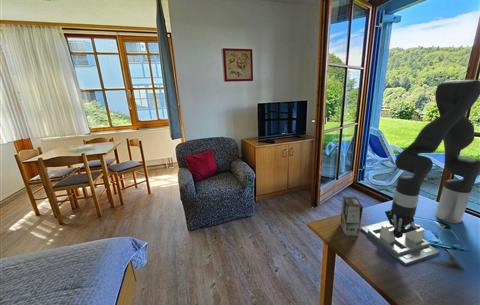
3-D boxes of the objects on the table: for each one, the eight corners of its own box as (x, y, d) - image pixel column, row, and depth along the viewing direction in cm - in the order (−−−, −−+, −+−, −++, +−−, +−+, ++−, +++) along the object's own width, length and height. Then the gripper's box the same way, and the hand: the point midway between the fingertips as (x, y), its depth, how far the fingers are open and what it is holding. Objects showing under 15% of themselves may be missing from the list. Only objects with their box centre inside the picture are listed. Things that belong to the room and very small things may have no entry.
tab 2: (411, 236, 92) (415, 222, 89) (421, 242, 88) (425, 227, 85) (404, 238, 91) (408, 224, 88) (414, 244, 87) (417, 230, 84)
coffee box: (359, 236, 96) (363, 207, 91) (344, 235, 97) (348, 206, 92) (353, 223, 104) (356, 196, 99) (339, 222, 106) (342, 196, 101)
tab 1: (386, 235, 93) (389, 221, 90) (394, 241, 89) (397, 227, 87) (379, 237, 92) (381, 223, 90) (387, 244, 88) (390, 229, 86)
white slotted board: (389, 221, 104) (390, 217, 103) (439, 254, 83) (440, 249, 83) (360, 229, 100) (361, 225, 99) (404, 265, 80) (406, 260, 79)
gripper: (430, 208, 75) (420, 245, 80) (396, 192, 87) (389, 225, 92) (415, 212, 73) (406, 250, 79) (382, 195, 85) (376, 228, 91)
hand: (397, 236), depth 86 cm, fingers closed
